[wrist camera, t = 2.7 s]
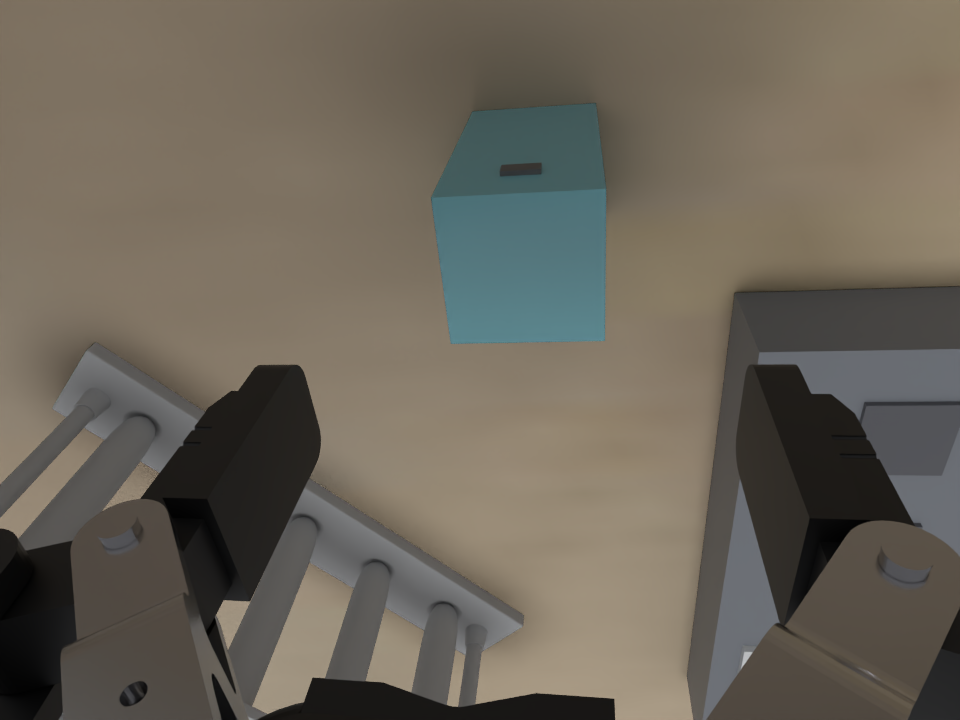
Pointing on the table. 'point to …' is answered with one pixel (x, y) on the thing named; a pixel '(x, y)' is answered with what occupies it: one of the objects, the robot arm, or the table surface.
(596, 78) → the table surface
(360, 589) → the test tube rack
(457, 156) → the block
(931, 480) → the power strip
